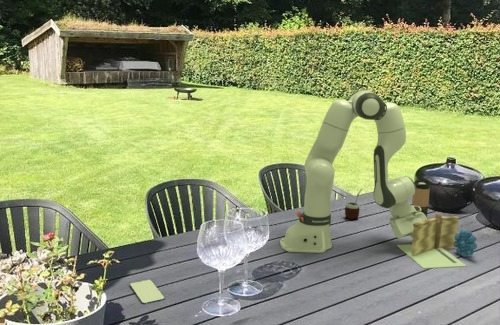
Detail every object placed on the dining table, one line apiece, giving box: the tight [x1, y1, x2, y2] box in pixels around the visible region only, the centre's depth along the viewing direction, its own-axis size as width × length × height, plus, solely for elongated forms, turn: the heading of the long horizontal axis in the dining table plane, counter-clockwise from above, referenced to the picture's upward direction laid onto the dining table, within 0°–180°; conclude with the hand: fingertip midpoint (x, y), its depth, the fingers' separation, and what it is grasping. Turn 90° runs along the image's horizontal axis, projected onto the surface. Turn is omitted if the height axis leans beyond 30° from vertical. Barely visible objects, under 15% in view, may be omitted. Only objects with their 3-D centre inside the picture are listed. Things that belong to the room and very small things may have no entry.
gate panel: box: [411, 217, 438, 255], centre depth 212 cm, size 14×2×13 cm, turn 126°
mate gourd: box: [344, 188, 363, 222], centre depth 255 cm, size 8×8×15 cm
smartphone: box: [129, 279, 166, 305], centre depth 176 cm, size 8×1×16 cm
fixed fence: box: [434, 214, 460, 250], centre depth 218 cm, size 10×2×15 cm, turn 99°
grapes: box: [453, 229, 478, 258], centre depth 210 cm, size 12×7×12 cm, turn 22°
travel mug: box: [411, 180, 431, 218], centre depth 252 cm, size 8×8×20 cm
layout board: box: [396, 243, 467, 270], centre depth 211 cm, size 18×24×1 cm
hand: (421, 242), depth 214 cm, fingers closed, pressing on gate panel
